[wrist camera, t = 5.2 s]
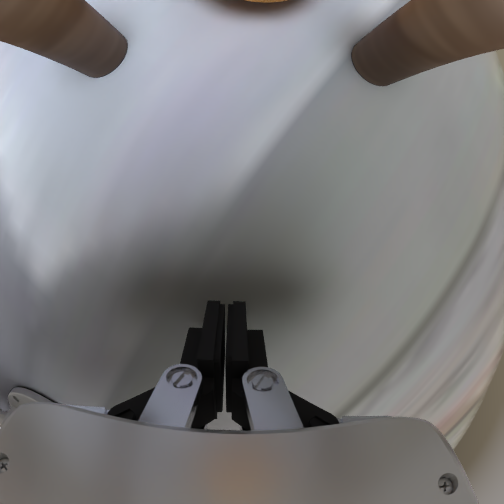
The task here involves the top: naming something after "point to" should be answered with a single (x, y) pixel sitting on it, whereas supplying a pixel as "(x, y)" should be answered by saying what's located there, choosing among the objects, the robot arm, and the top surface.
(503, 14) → the post
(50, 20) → the post
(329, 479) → the robot arm
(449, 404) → the top surface
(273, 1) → the ball
